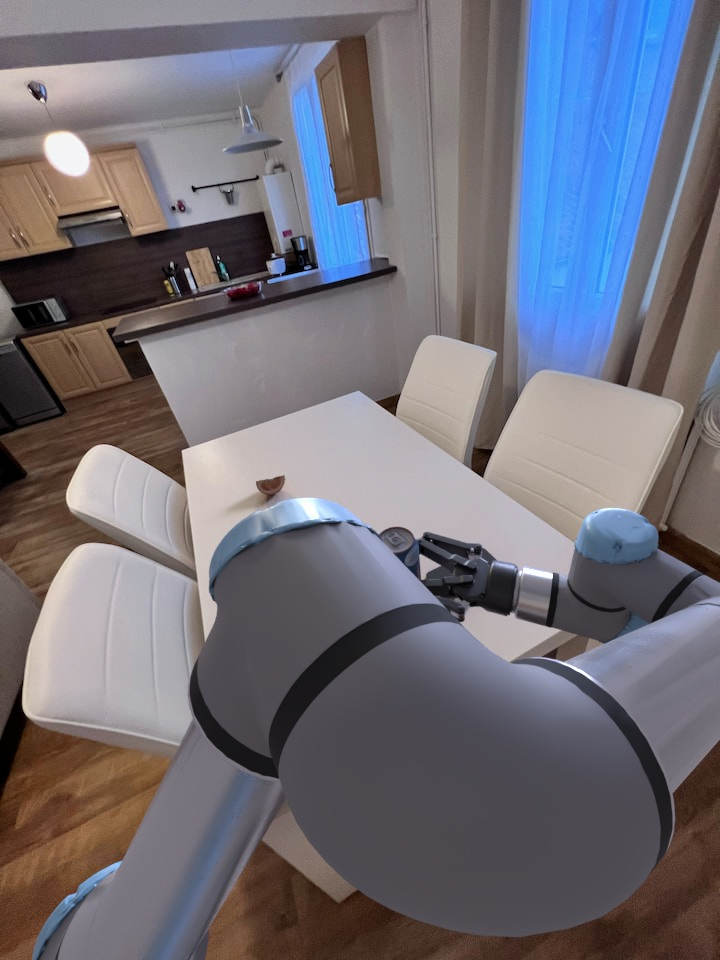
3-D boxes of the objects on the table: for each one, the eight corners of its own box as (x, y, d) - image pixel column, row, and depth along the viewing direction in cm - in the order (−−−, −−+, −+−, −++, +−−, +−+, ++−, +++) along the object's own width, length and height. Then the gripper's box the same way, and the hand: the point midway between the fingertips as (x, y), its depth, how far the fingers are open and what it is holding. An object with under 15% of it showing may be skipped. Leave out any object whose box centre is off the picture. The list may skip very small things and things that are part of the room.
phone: (423, 573, 85) (481, 545, 88) (423, 576, 85) (481, 548, 89) (443, 598, 79) (505, 567, 83) (443, 601, 79) (504, 570, 83)
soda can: (430, 593, 68) (427, 542, 61) (395, 613, 65) (388, 562, 58) (406, 567, 73) (401, 517, 66) (374, 585, 71) (365, 536, 64)
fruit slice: (287, 482, 121) (283, 469, 118) (289, 495, 115) (284, 481, 112) (260, 488, 120) (255, 475, 117) (260, 502, 114) (255, 488, 112)
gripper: (503, 667, 53) (348, 618, 63) (521, 559, 67) (393, 533, 76) (507, 634, 49) (340, 587, 58) (526, 526, 63) (389, 502, 72)
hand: (370, 556), depth 67 cm, fingers closed on soda can, 7 cm apart
